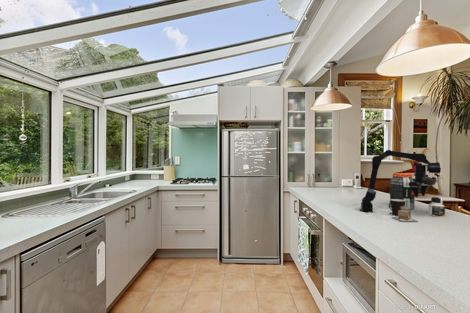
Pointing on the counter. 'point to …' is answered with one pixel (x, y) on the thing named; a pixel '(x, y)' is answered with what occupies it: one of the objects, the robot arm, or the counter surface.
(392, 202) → the coffee mug
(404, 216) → the letter block
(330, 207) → the counter surface
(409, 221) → the pad
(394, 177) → the supplement tub
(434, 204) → the medicine bottle
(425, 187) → the robot arm
